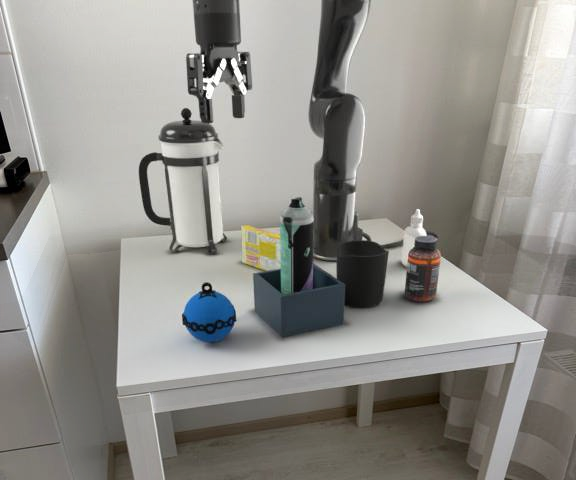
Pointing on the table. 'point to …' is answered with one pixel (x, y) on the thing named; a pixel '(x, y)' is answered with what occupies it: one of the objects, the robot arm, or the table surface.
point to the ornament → (209, 315)
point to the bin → (299, 303)
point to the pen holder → (362, 272)
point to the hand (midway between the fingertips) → (223, 120)
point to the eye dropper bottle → (412, 235)
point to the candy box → (260, 248)
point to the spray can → (296, 248)
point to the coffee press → (188, 183)
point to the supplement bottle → (422, 269)
